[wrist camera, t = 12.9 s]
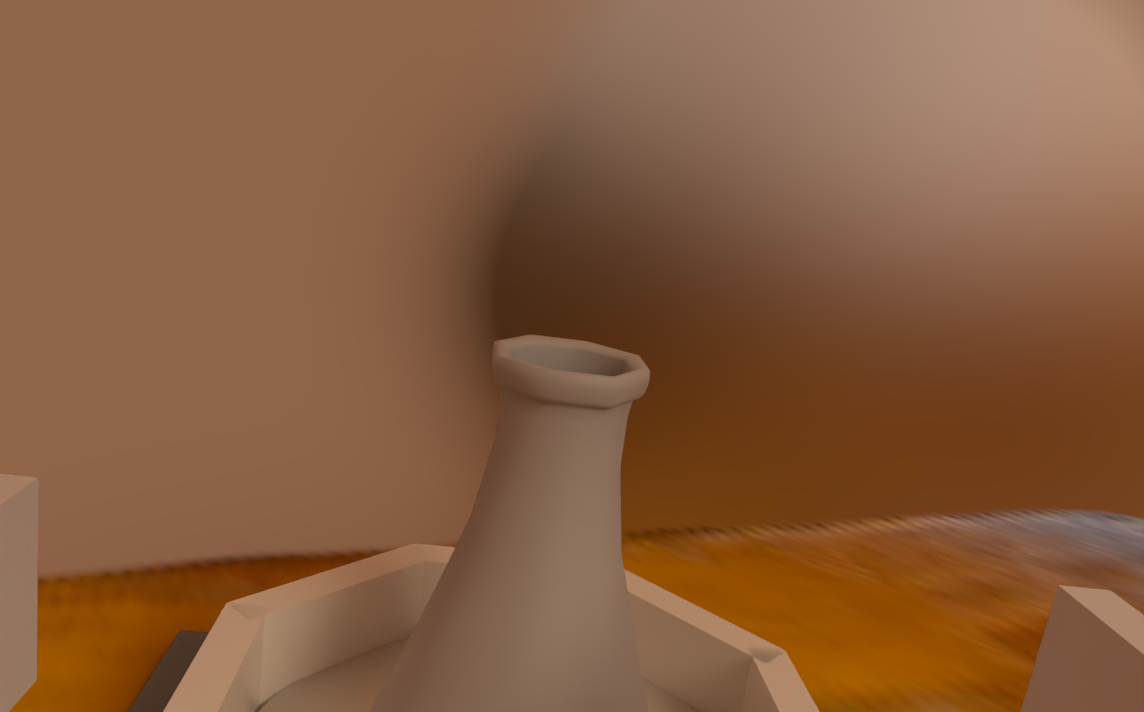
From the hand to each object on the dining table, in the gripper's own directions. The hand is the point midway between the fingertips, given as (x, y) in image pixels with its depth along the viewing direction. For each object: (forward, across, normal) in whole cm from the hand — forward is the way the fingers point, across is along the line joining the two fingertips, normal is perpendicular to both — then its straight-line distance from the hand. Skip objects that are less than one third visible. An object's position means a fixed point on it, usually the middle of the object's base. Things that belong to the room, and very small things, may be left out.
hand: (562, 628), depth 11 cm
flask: (+7, 0, -8) cm, 11 cm away
